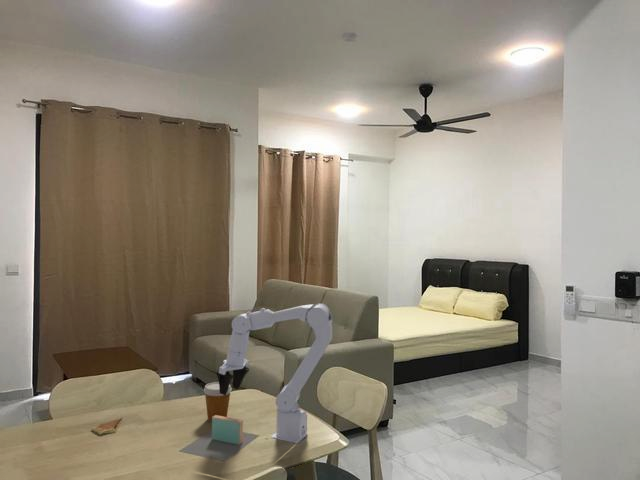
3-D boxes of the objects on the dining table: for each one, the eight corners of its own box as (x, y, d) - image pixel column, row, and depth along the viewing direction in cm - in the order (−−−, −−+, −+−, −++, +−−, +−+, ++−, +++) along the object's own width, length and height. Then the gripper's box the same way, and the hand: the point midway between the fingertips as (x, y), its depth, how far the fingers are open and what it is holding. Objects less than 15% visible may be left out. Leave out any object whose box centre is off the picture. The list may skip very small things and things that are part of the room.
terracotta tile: (242, 442, 154) (242, 420, 154) (238, 445, 152) (239, 422, 152) (215, 437, 157) (215, 415, 157) (211, 439, 156) (211, 417, 155)
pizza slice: (122, 421, 171) (122, 416, 171) (134, 427, 166) (134, 422, 166) (91, 431, 162) (91, 425, 162) (103, 437, 157) (103, 431, 157)
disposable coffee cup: (228, 425, 168) (228, 390, 168) (199, 425, 168) (200, 389, 168) (233, 415, 177) (234, 382, 177) (206, 414, 177) (207, 381, 177)
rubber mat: (259, 436, 160) (259, 435, 159) (224, 462, 141) (224, 461, 141) (217, 428, 166) (217, 427, 166) (178, 452, 147) (178, 450, 147)
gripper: (238, 343, 170) (231, 382, 171) (214, 350, 157) (206, 392, 157) (256, 349, 168) (248, 388, 168) (233, 357, 154) (224, 399, 155)
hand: (229, 391), depth 163 cm, fingers open, 7 cm apart
